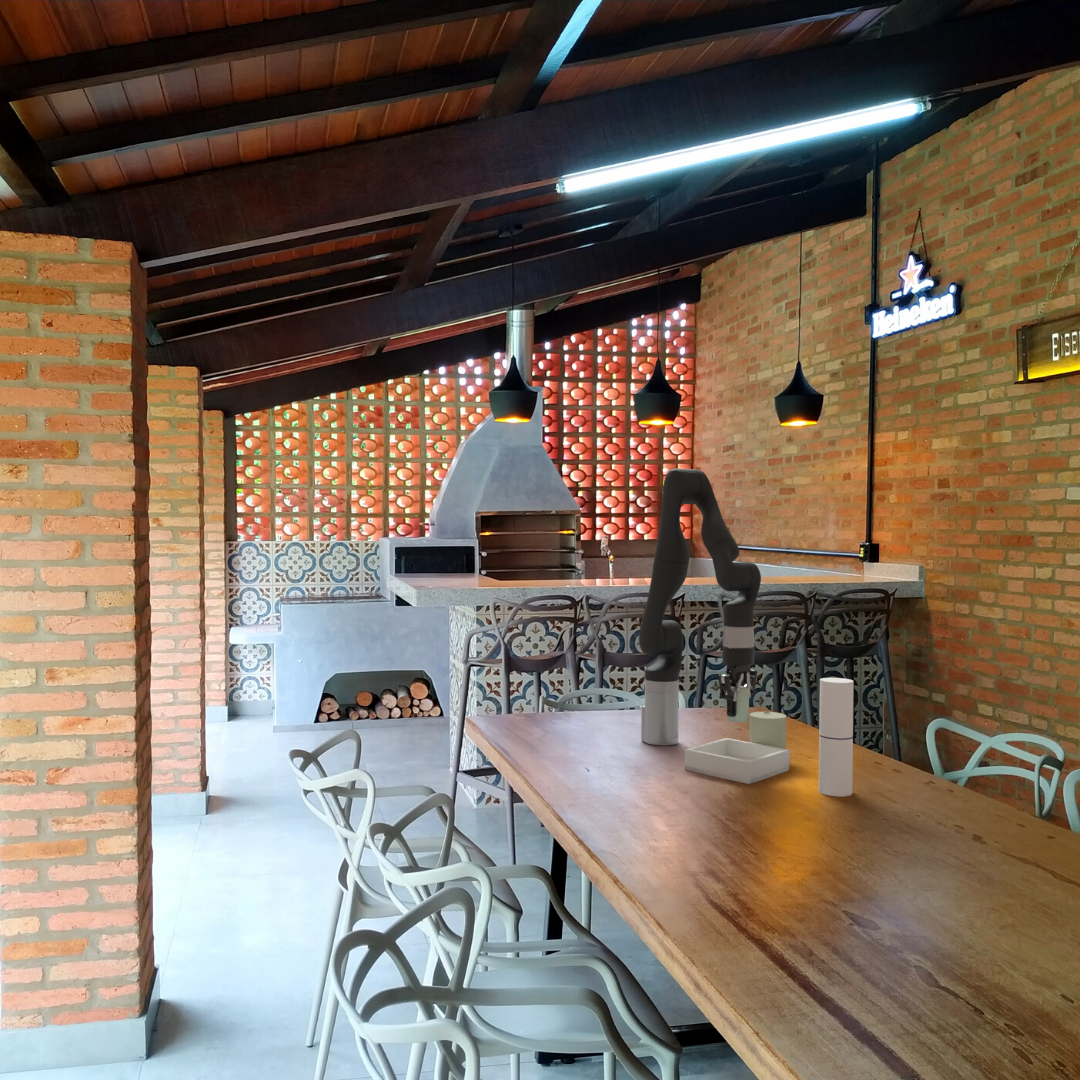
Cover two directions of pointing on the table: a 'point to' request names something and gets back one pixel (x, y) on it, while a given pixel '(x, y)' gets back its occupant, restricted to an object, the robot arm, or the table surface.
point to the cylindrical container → (836, 736)
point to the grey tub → (737, 760)
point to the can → (768, 729)
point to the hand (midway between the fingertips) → (737, 714)
